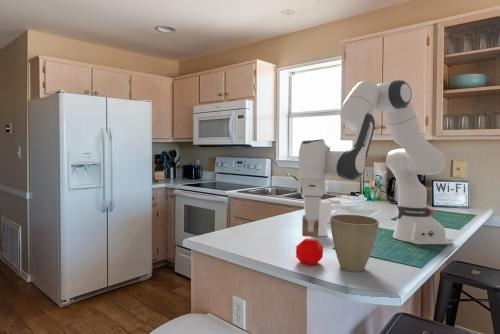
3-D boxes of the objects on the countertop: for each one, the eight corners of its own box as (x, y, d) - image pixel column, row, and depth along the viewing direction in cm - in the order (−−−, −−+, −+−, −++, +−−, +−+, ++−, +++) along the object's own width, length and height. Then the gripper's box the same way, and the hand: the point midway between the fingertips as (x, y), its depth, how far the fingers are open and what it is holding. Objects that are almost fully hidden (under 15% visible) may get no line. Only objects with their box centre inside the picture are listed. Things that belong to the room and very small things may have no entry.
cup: (331, 238, 148) (332, 203, 148) (306, 236, 151) (307, 202, 150) (330, 232, 159) (331, 199, 158) (307, 230, 161) (307, 198, 160)
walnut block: (302, 232, 118) (302, 215, 118) (317, 233, 118) (317, 215, 117) (302, 236, 113) (303, 217, 113) (318, 236, 113) (318, 218, 112)
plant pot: (325, 272, 107) (326, 221, 106) (332, 258, 121) (333, 213, 120) (376, 279, 102) (378, 225, 101) (377, 264, 116) (379, 216, 115)
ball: (301, 257, 121) (301, 236, 121) (324, 261, 118) (324, 239, 117) (293, 264, 114) (294, 241, 114) (317, 268, 110) (318, 245, 110)
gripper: (300, 183, 125) (299, 221, 126) (302, 190, 105) (301, 236, 106) (318, 184, 124) (317, 222, 125) (323, 191, 104) (322, 237, 105)
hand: (310, 228), depth 115 cm, fingers closed on walnut block, 5 cm apart
